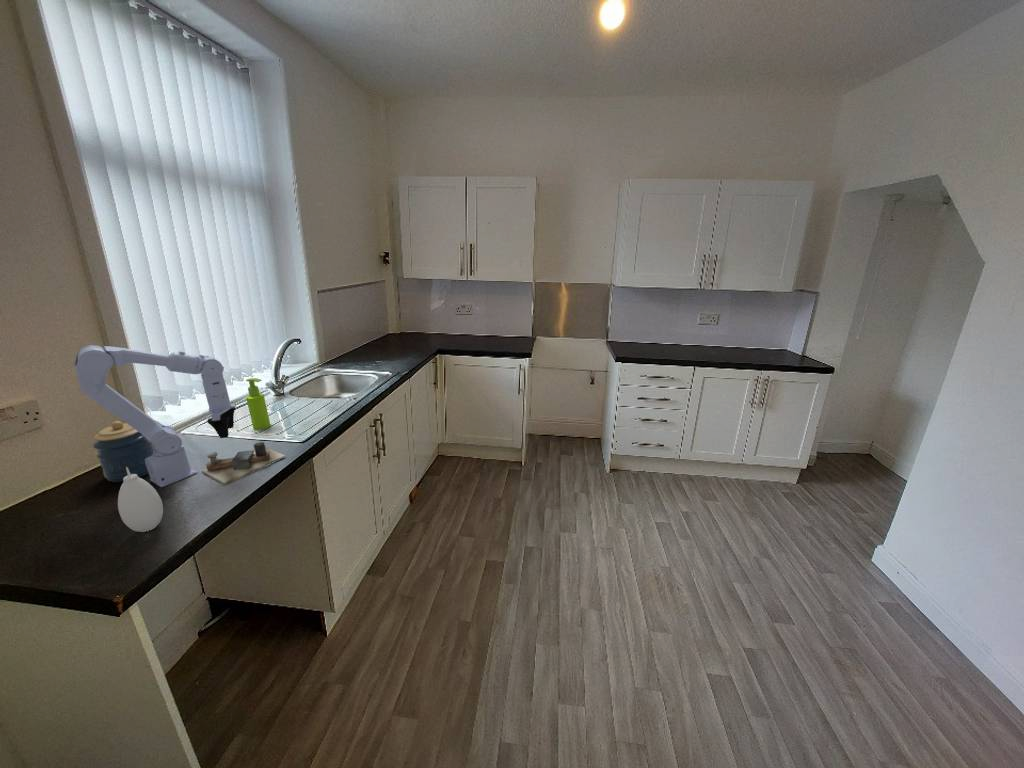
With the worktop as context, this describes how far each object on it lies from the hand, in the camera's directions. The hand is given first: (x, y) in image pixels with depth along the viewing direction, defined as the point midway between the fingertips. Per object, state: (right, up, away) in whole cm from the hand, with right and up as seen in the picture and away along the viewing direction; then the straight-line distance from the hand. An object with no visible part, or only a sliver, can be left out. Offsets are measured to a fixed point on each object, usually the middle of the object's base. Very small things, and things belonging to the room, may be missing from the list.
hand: (227, 432), depth 134 cm
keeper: (+8, -11, -2) cm, 13 cm away
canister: (-26, -12, -5) cm, 29 cm away
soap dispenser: (-5, -1, +27) cm, 27 cm away
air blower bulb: (+3, -21, -32) cm, 38 cm away
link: (+6, -9, -3) cm, 11 cm away
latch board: (+7, -10, -2) cm, 13 cm away
